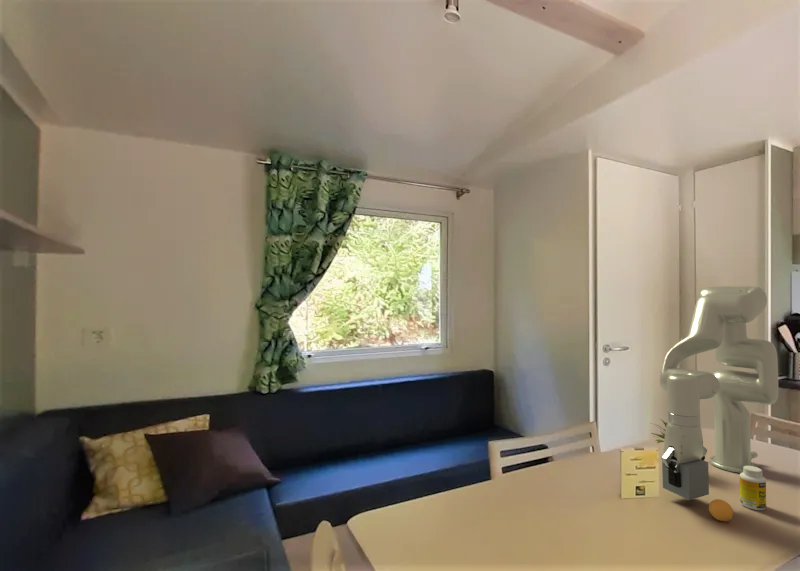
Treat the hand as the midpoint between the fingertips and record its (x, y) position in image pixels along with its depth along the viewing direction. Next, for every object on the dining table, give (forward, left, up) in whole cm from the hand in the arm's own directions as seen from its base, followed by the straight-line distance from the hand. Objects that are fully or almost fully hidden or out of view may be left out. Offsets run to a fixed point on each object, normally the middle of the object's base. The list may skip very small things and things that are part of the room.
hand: (685, 482), depth 122 cm
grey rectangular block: (0, 0, -2) cm, 2 cm away
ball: (+1, +10, -3) cm, 11 cm away
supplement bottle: (-14, +9, -6) cm, 18 cm away
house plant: (-18, -17, -6) cm, 26 cm away
